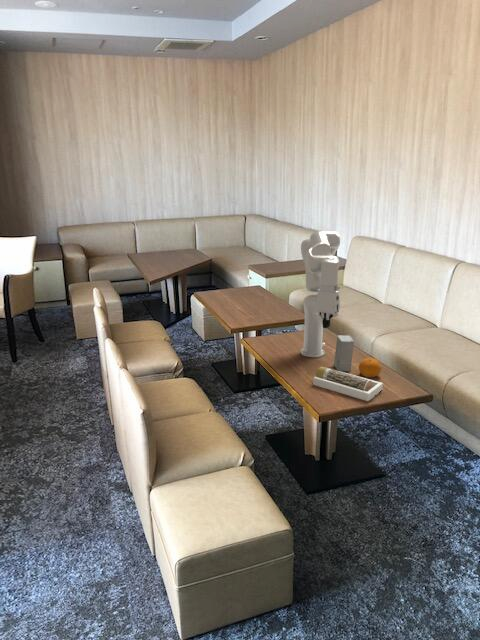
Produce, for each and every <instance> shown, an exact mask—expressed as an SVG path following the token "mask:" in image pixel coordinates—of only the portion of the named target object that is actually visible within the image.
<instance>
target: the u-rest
mask: <svg viewBox="0 0 480 640" xmlns="http://www.w3.org/2000/svg"><path fill="white" fill-rule="evenodd" d="M329 369H331V368H329ZM335 370H336V371H338V370H337V369H335ZM339 372H343V373H346V374H350V375H353V376H357V377H360V378H364V379H367V380H370V381H372V388H371V389H370V390H369V391H368V392H367V391H363V390H360V389H356V388H353V387H349V386H346V385H343V384H339V383H336V382H332V381H329V380H325V379H322V378H318V377H316V376H314V377H313V383H312V385H314V386H316V387H319V388H323V389H327V390H329V391H333V392H336V393H340V394H343V395H346V396H349V397H353V398H356V399H359V400H363V401H366V402H370V401H371V400H372V399H374V398H375V397H376V396H377V395H379V392H380V391H381V390H382V391H383V386H384V383H383V382H380V381H377V380H373V379H369V378H367V377H362V376H358V375H354V374H352V373H347V372H345V371H339ZM382 391H381V392H382ZM381 392H380V393H381ZM375 395H376V396H375Z"/></svg>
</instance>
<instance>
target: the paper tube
mask: <svg viewBox="0 0 480 640" xmlns="http://www.w3.org/2000/svg"><path fill="white" fill-rule="evenodd" d="M336 370H337V369H334V368H330V369H329V368H328V367H326V366H319V367H318V368H317V369H316V372H315V377H318V378H322V379H325V380H329V381H332V382H336V383H339V384H343V385H346V386H349V387H353V388H356V389H360V390H363V391H367V392H368V391H369V390H370V389H371V388H372V381H370V380H371V379H370V380H367V379H368V378H366V379H364V378H365V377H362V378H360V377H361V376H359V377H357V376H358V375H355V376H353V375H354V374H352V375H350V374H351V373H348V374H346V373H347V372H344V371H341V372H339V371H338V370H337V371H336ZM343 372H344V373H343Z"/></svg>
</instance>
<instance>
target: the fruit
mask: <svg viewBox="0 0 480 640" xmlns="http://www.w3.org/2000/svg"><path fill="white" fill-rule="evenodd" d="M358 371H359V373H360V374H361V375H362V376H364V377H365V378H374V377H377V376H379V375H380V374H381V371H382V364H381V363H380V361H379V360H378V359H376V358H373V357H367V358H364V359H362V360H361V361H360V362H359V365H358Z"/></svg>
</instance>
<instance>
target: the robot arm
mask: <svg viewBox="0 0 480 640" xmlns="http://www.w3.org/2000/svg"><path fill="white" fill-rule="evenodd" d="M340 244H341V237H340V234H339V233H338V232H337V231H336V230H335V231H334V230H318V231H315V232H314V231H313V232H312V233H311V234H310V236H309V238H307V239H305V240H302V241H301V244H300V252H301V258H302V260H303V262H304V267H305V286H306V290H307V291H308V292H309V293H314V294H310V295H307V296H305V297H304V299H303V310H304V327H303V328H304V329H303V348H301V349H300V354H301V355H302V356H304V357H307V358H321V357H323V356H324V355H325V354H326V353H325V350H324V349H323V347H325V346H326V343H325V342H323V336H324V335H323V334H324V333H323V331H324V329H328V328H330V326H331V319H332V318H337V317H339V312H340V309H341V308H340V307H341V305H340V304H341V302H340V300H341V298H340V292H339V291H340V289H341V288H340V287H339V285H338V282H339V281H338V280H339V279H338V278H339V268H340V259H339V257H338V256H336V255H335V254H336V252H337V251H338V249H339V247H340Z"/></svg>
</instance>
